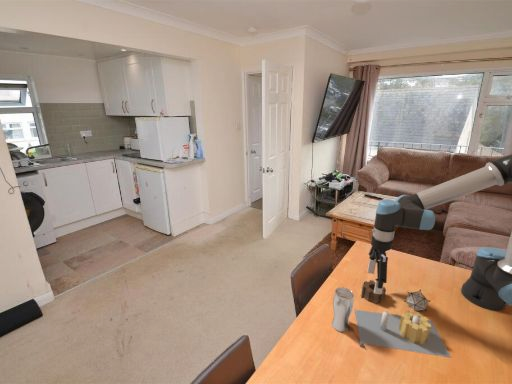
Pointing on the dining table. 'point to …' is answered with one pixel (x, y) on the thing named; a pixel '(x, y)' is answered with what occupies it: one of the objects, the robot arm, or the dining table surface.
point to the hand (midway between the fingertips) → (373, 282)
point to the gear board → (395, 334)
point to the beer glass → (342, 308)
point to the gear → (414, 327)
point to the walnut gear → (372, 292)
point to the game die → (417, 301)
